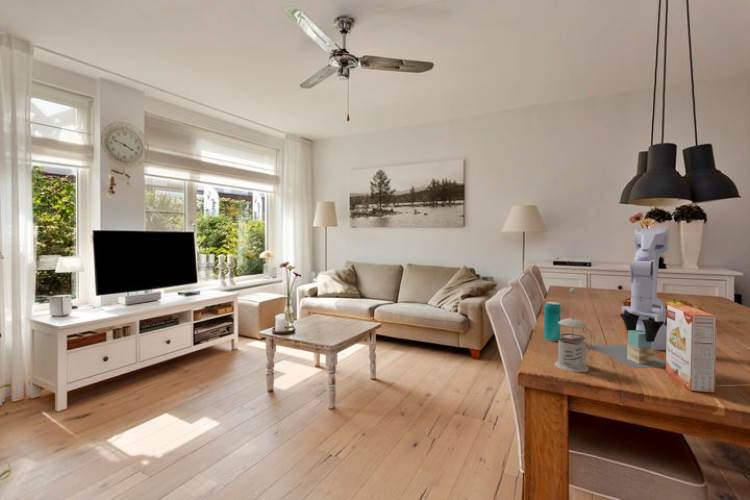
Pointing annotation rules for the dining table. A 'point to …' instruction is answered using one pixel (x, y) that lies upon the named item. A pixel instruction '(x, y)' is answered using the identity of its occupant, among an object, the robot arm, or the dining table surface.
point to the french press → (572, 346)
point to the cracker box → (691, 347)
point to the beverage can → (552, 321)
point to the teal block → (638, 339)
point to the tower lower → (640, 358)
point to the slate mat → (625, 356)
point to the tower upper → (640, 351)
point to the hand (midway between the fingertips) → (640, 338)
